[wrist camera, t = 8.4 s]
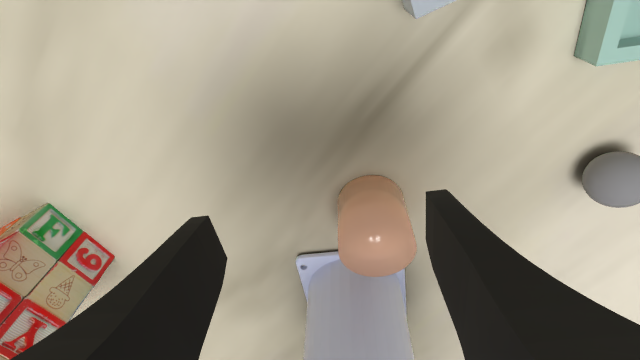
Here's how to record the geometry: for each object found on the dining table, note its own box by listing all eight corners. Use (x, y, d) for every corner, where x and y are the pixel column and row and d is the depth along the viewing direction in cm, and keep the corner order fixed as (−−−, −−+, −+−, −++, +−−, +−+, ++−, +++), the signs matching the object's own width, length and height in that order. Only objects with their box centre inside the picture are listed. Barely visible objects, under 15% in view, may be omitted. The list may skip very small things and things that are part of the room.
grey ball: (619, 183, 22) (659, 216, 19) (565, 189, 22) (596, 222, 20) (637, 138, 20) (682, 167, 17) (577, 145, 20) (613, 175, 18)
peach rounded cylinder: (404, 223, 24) (417, 273, 21) (341, 229, 25) (343, 279, 21) (402, 171, 22) (416, 217, 18) (333, 179, 22) (333, 225, 19)
